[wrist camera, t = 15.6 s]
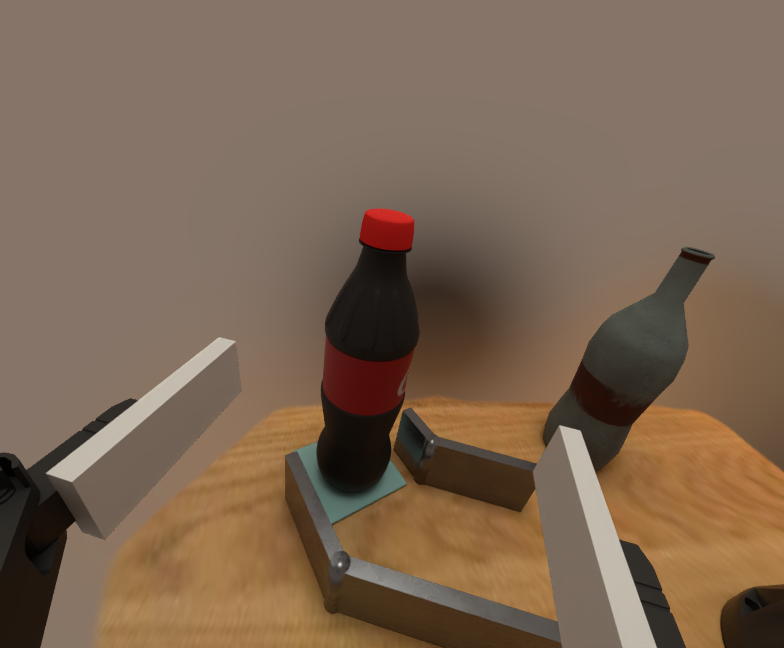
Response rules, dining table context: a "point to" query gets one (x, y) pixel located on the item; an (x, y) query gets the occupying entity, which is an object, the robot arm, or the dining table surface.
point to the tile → (346, 503)
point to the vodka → (629, 363)
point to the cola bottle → (368, 355)
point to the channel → (408, 593)
